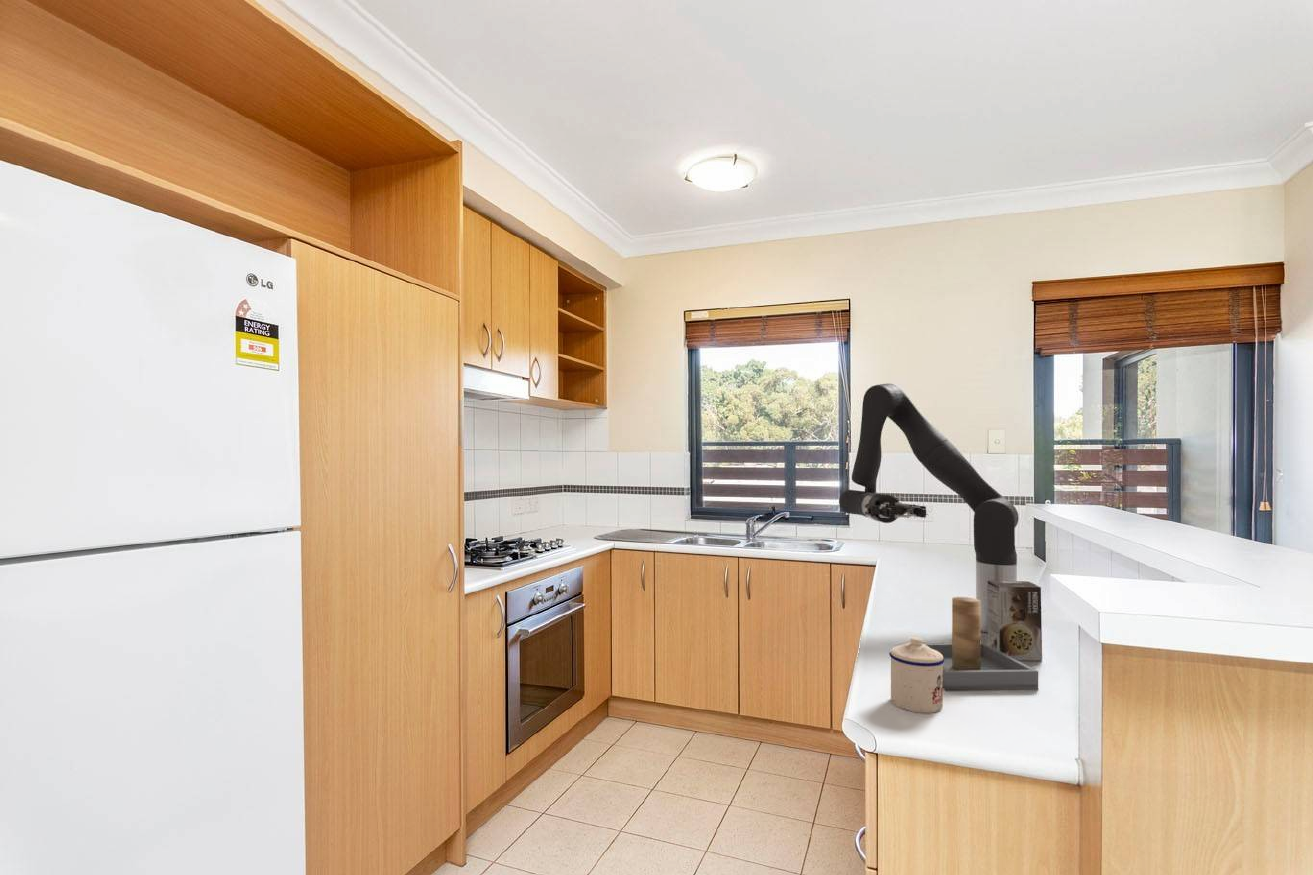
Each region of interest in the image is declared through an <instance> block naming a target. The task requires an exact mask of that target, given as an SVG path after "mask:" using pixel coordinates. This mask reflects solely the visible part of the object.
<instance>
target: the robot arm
mask: <svg viewBox="0 0 1313 875" xmlns="http://www.w3.org/2000/svg"><path fill="white" fill-rule="evenodd" d="M862 399H863V400H862V407H861V408H862V409H861V422H860V433H859V441H858V446H857V453H856V456H855V460H854V465H853V469H852V474H851V480H852V482H853V483H855V484H856V485H859V486H862V487H864V491H863V490H856V489H845V490H844V491H842V493H841V494H840V496H839V499H838V504H839V507H840V509H841V510H842V512H844V513H845V514H850V515H858V516H863V517H866V518H868V519H870V520H873V521H877V522H879V523H884V524H886V523H887V524H890V523H893V522H895V521H896V520H897V519H899V518H900V519H901V518H907V519H910V518H912V517H916V518H922V519H923V518H924V519H925V518H926V517H927V506H925V505H919V504H917V505H916V504H914V503H913V504H912V503H911V504H910V503H902V502H900V501H899V499H898V498H896V497H895V496H893V495H891V494H885V493H881V492H877V481H878V480H877V479H878V476H879V471H880V467H881V463H882V455H883V454H882V453H883V452H882V433H883V428H884V425H885V422H886V420H887V418H888V419H890V421H892V422H893V423H894V424H895V425H896V426H897V427H898V428H899V429H900V430H901V431H902V433H903V434H904V436H905V437H906V440H907V441H908V444H909V447H910V449H911V451H912V453H913V455H914V456H915V458H916V459H917V461H918V462H919V463H921V465H922V466H923V467H925V469H926V470H927V471H928V472H929V473H930V475H931V476H933V477H934V478H936V479H937V480H938V481H939V482H941V483H942V484H943V485H945V486H946V487H947V488H948V489H950V490H951V491H953V492H955V493H956V494H957V495H958V496H959V497H960V498H961V499H962V500H963V501H964V502H965V503H966V504H967V505H968V506H969V508H971V510H972V511H973V512H974V515H973V545H974V546H973V547H974V552H975V599H978V600H980V601H981V632H984V633H987V634H988V581H1018V566H1017V565H1018V553H1017V551H1016V542H1015V540H1016V533H1015V532H1016V528H1017V526H1018V523H1019V513H1018V512H1019V511H1018V510H1017V508H1016V506H1014V505H1013V503H1011V502H1010V501H1009V500H1008V499H1007V498H1006V497H1004V496H1003V495H1001V493H999V491H997V490H996V489H995V488H993V487H992V486H991V485H990V484H989V483H988V482H987V481H986V480H985V479H984V478H983V477H982V476H981V475H980V474H979V473H978V472H977V470H976V469H975V468H974V466H973V465H972V464H971V463H970V462H969V460H967V459H966V458H965V456H964V455H963V454H962V453H961V452H960V450H958V448H957V447H956V446H954V444H952V442H951V441H950V440H949V439H948V438H947V437H945V435H944V434H942V432H940V430H939V429H937V427H936V426H934V425H933V423H931V422H930V421H929V419H927V417H925V416H924V415H923V414H922V413H921V412H920V411H919V409H918V407H916V406H915V404H914V403H913V401H912V400H911V399H910V397H909V396H908V394H906V393H905V392H904V390H903V389H902V388H900V387H899V386H898V385H896V384H893V383H882V384H881V383H880V384H875V385H871V386H870V387H869V388H868V389H867V390H866V391H865V393H864V394H863V398H862Z"/></svg>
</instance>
